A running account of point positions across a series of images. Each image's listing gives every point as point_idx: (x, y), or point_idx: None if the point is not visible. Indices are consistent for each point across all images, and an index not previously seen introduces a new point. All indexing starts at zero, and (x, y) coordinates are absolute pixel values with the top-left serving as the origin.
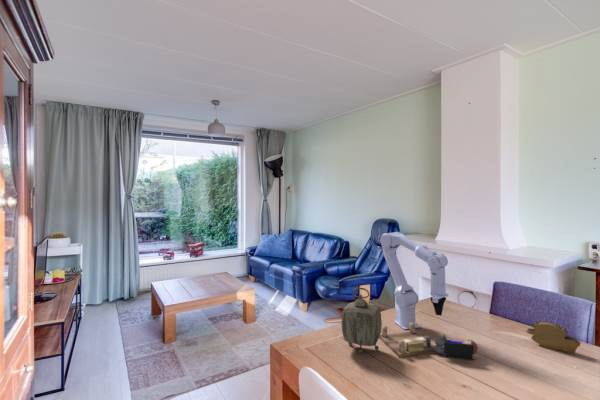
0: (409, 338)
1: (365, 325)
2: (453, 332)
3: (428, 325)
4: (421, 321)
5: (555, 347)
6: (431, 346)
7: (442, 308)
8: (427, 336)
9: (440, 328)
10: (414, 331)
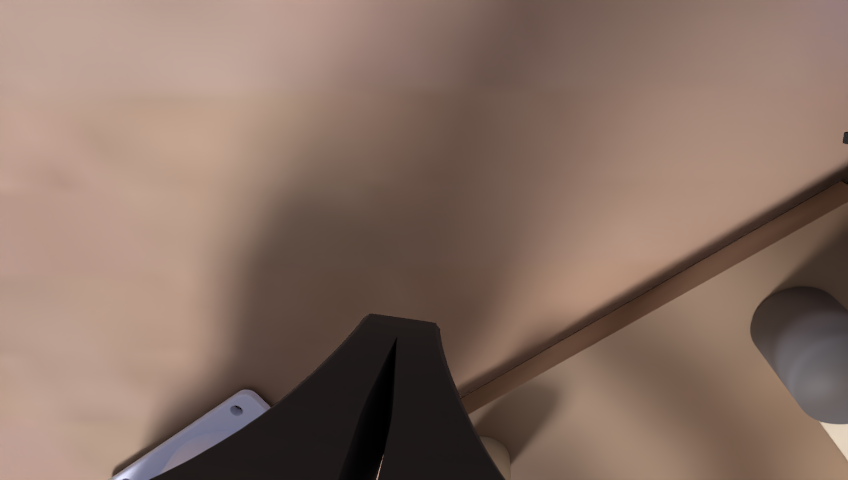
0: (645, 476)
1: None
2: (172, 18)
3: (125, 306)
4: (57, 374)
5: None
6: (811, 276)
7: (395, 401)
8: (815, 376)
9: (134, 180)
10: (497, 458)
